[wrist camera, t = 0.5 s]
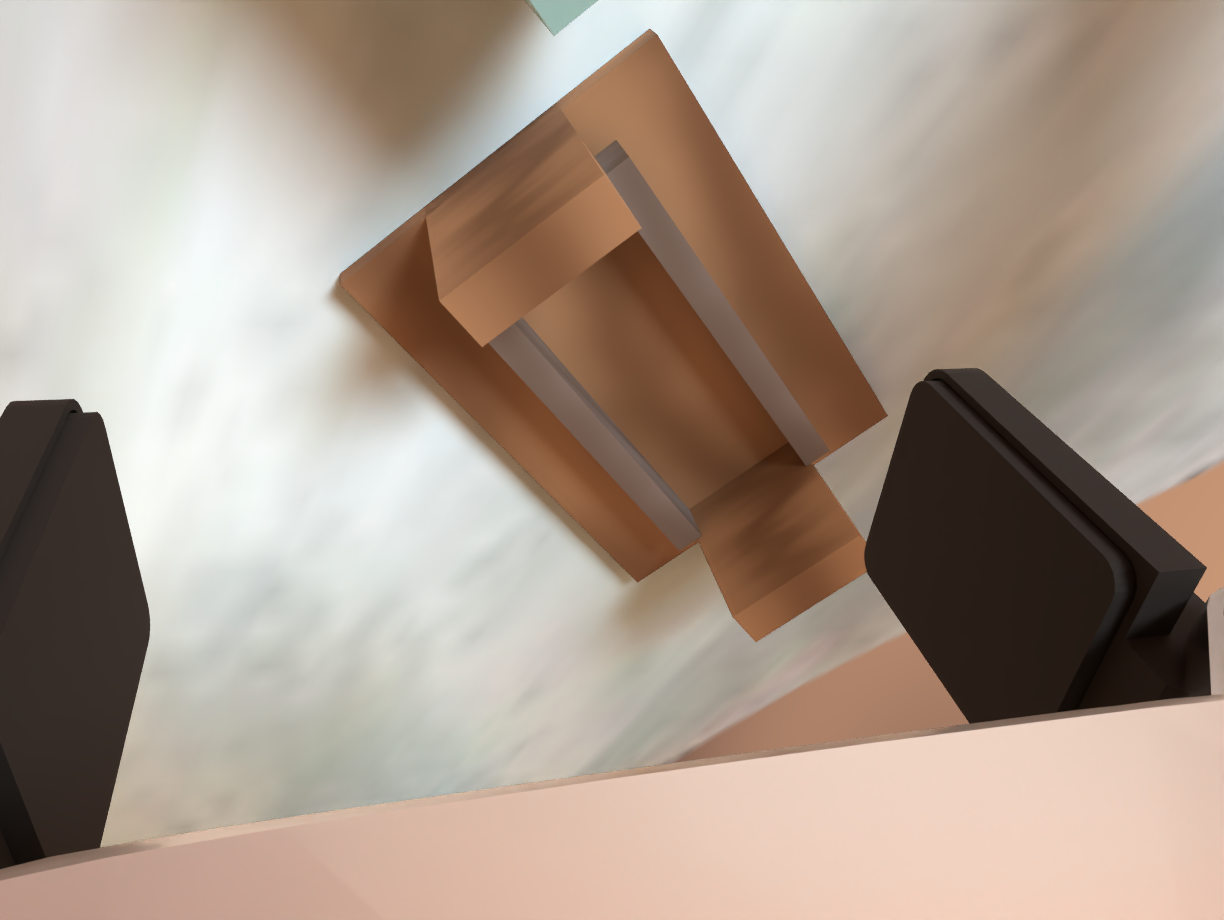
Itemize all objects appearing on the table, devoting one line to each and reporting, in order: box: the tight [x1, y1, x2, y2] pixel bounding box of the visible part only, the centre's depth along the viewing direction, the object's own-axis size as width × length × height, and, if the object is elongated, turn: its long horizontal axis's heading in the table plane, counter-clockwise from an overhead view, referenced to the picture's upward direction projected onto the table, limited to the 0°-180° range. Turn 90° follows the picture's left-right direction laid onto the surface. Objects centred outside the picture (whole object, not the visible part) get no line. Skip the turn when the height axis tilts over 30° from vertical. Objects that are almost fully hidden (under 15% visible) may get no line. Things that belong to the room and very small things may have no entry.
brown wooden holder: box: [340, 29, 888, 642], centre depth 36 cm, size 14×20×8 cm
